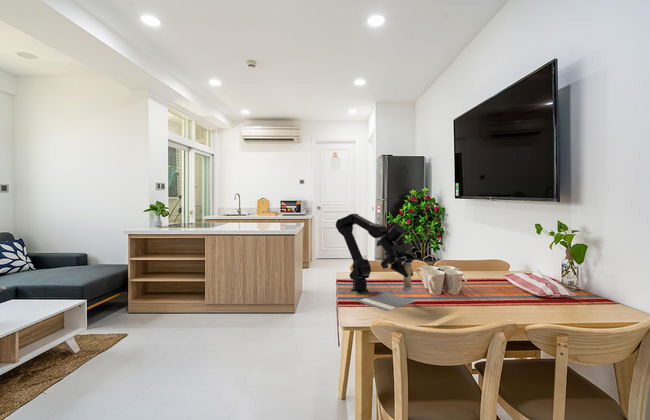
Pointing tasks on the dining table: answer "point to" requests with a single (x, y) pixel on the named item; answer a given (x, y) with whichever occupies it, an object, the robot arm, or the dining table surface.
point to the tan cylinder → (407, 280)
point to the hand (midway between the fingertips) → (409, 276)
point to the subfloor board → (386, 301)
